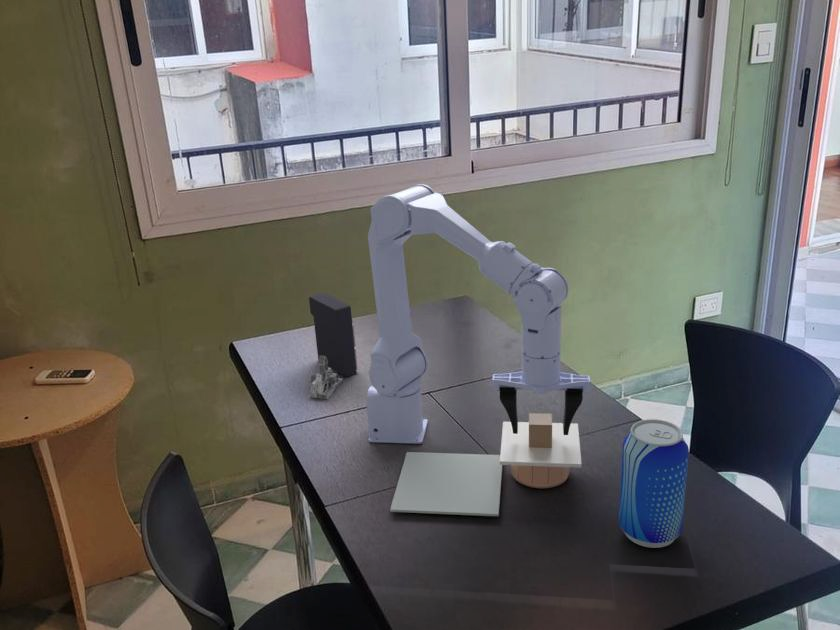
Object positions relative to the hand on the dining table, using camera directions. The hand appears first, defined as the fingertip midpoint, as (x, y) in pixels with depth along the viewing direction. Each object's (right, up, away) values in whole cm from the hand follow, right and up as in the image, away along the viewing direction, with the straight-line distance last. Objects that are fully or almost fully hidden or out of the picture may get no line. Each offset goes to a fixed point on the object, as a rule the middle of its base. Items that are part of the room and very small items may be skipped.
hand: (540, 431), depth 120 cm
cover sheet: (0, -2, +1) cm, 2 cm away
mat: (-14, -8, +1) cm, 16 cm away
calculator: (-36, +7, +43) cm, 56 cm away
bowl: (0, -7, +3) cm, 7 cm away
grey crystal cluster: (-39, +3, +35) cm, 53 cm away
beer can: (+13, -12, -12) cm, 22 cm away
